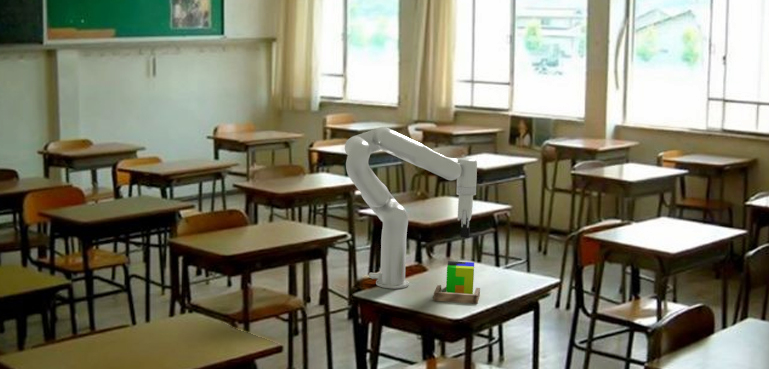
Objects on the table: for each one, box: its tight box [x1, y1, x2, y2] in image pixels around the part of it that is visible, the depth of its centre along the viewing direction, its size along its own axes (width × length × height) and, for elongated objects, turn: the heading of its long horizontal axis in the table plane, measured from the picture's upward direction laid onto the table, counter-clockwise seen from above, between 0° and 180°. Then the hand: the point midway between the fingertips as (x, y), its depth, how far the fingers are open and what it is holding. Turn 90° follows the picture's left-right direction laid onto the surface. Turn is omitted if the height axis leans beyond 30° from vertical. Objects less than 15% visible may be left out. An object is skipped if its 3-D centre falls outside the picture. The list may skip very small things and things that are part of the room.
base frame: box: [433, 284, 481, 304], centre depth 393 cm, size 16×11×3 cm
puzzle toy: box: [445, 260, 475, 294], centre depth 404 cm, size 10×10×10 cm
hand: (464, 237), depth 413 cm, fingers closed
